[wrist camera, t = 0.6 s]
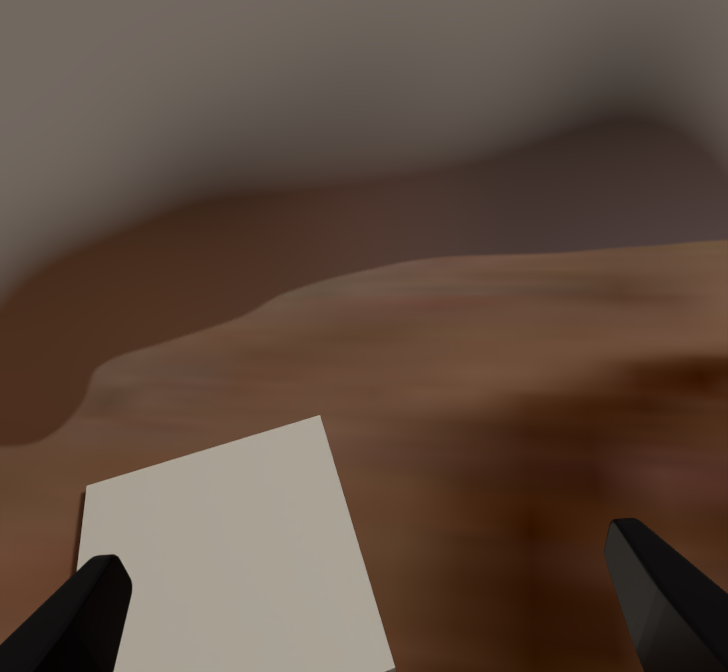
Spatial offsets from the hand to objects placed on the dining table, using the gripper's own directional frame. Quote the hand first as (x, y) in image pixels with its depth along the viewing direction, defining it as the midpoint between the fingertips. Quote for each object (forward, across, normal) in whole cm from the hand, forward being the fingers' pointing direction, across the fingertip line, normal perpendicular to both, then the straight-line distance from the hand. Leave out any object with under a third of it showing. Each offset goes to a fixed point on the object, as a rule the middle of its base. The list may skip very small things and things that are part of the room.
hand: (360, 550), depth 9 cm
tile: (+10, +9, +14) cm, 19 cm away
